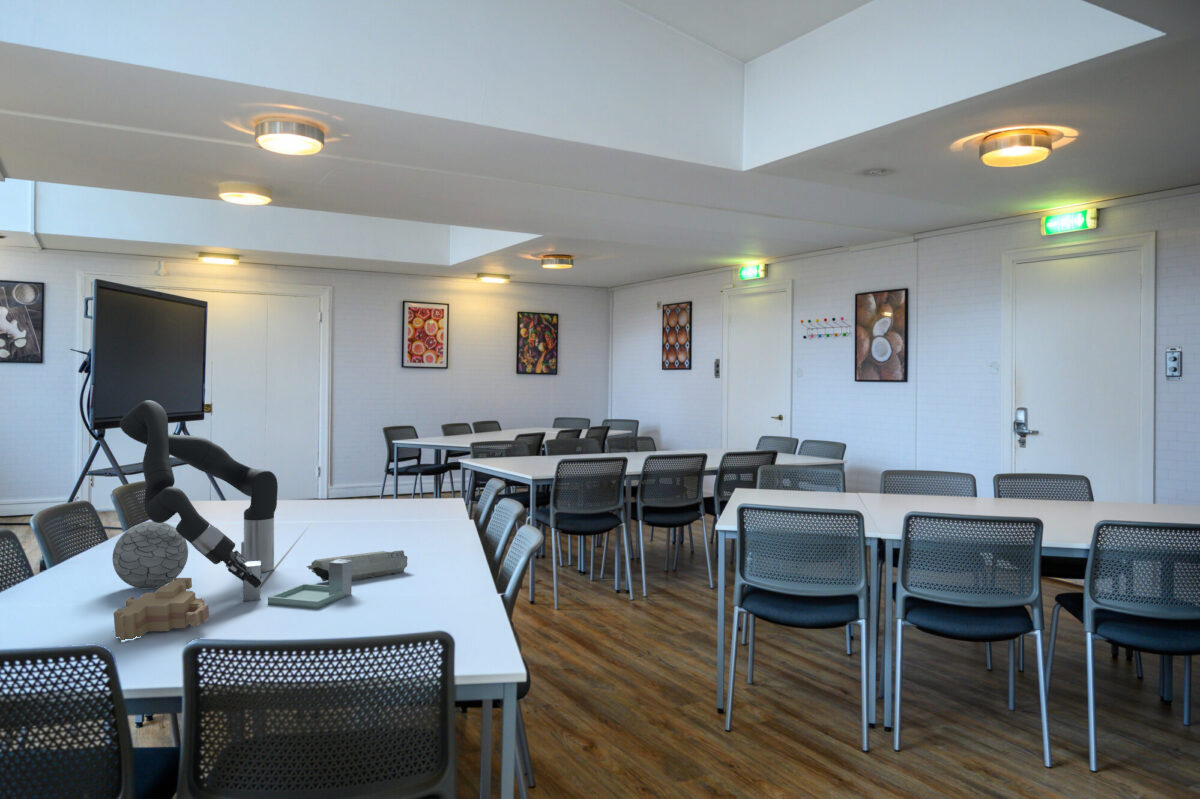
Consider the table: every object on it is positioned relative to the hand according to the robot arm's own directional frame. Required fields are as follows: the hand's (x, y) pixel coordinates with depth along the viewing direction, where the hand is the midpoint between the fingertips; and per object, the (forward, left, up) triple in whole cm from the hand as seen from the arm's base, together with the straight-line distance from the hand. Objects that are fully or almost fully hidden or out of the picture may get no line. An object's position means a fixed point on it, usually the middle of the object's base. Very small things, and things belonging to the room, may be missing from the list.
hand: (258, 582), depth 229 cm
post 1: (-2, -1, -4) cm, 5 cm away
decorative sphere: (-38, 0, -5) cm, 39 cm away
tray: (+15, +3, -5) cm, 16 cm away
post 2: (+20, +9, -5) cm, 23 cm away
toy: (-1, -32, -5) cm, 32 cm away
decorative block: (+14, +30, -5) cm, 33 cm away
